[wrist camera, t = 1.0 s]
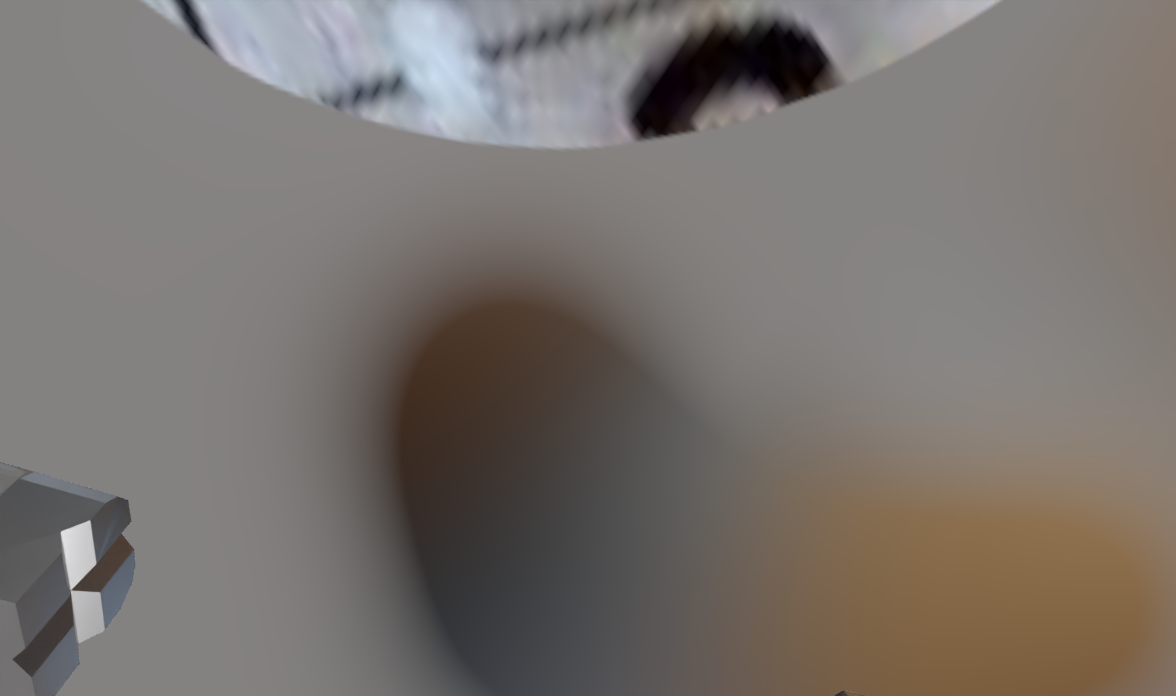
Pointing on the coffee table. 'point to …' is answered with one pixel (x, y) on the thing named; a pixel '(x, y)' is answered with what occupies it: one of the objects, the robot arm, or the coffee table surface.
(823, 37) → the coffee table surface
